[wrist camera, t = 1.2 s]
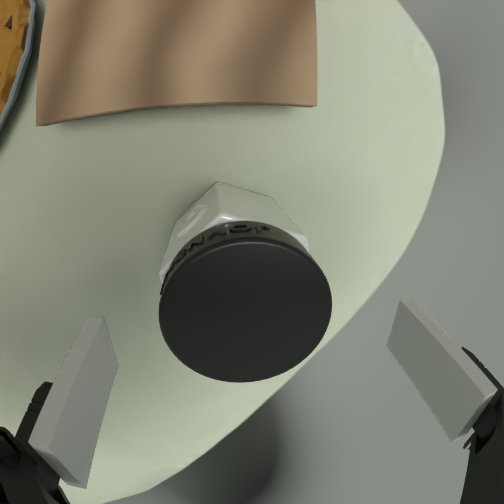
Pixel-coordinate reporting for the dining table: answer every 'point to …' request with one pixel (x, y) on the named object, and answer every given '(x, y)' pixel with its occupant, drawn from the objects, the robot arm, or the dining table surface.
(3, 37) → the pie
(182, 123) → the dining table surface
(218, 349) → the jar
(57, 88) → the wooden serving stand
